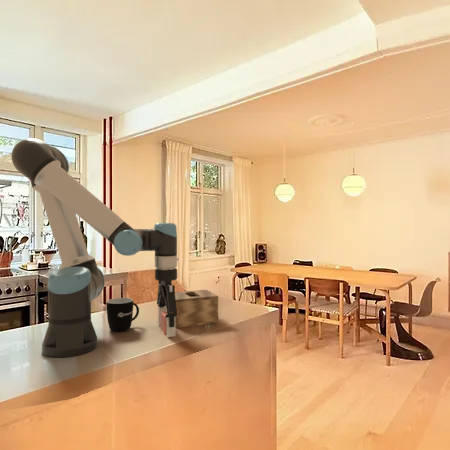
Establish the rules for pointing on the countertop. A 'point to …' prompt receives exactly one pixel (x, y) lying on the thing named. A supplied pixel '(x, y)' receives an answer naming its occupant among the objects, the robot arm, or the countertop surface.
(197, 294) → the coin box
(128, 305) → the mug
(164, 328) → the block
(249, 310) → the countertop surface
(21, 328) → the countertop surface
